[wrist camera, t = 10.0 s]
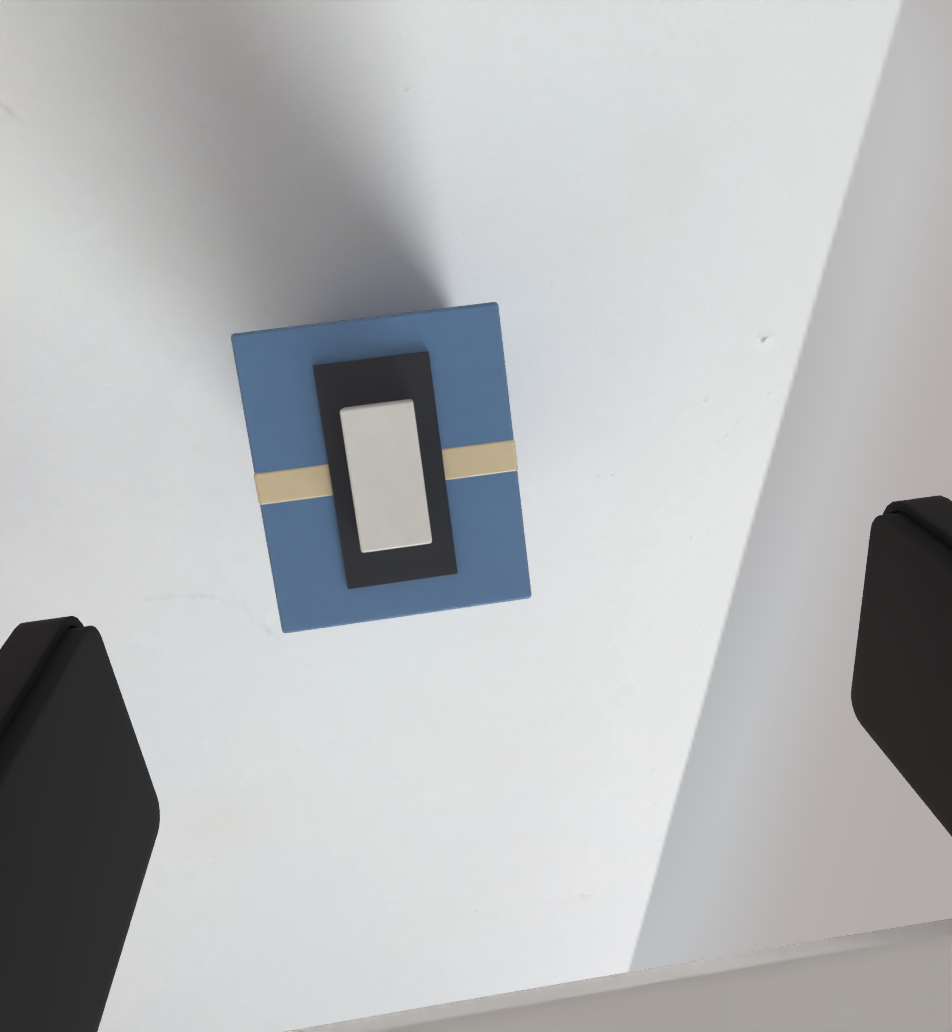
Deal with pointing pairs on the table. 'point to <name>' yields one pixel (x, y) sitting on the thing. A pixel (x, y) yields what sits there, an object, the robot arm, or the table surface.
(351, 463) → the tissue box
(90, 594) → the table surface
